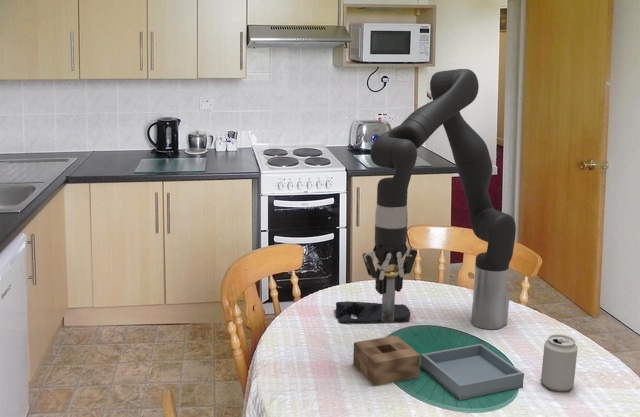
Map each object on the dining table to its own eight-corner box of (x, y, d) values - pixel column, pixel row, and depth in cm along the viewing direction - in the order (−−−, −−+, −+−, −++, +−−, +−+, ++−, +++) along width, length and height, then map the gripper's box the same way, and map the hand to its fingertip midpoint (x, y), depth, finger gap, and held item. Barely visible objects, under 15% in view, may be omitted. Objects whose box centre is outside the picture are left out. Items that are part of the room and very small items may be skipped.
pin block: (395, 357, 187) (396, 335, 186) (418, 377, 176) (420, 354, 175) (353, 364, 183) (353, 342, 181) (374, 386, 172) (375, 362, 170)
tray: (480, 356, 188) (481, 343, 187) (522, 386, 173) (524, 373, 172) (420, 367, 182) (421, 354, 181) (459, 400, 166) (460, 386, 165)
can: (535, 378, 177) (540, 332, 174) (565, 377, 178) (570, 331, 175) (547, 393, 170) (552, 346, 167) (578, 392, 170) (584, 345, 167)
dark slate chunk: (412, 327, 207) (412, 312, 205) (334, 325, 208) (335, 309, 206) (408, 307, 221) (408, 292, 220) (335, 305, 222) (336, 290, 221)
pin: (391, 315, 179) (393, 266, 176) (400, 322, 175) (402, 272, 172) (375, 317, 177) (377, 268, 174) (383, 324, 173) (385, 274, 170)
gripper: (410, 216, 176) (407, 283, 180) (356, 221, 171) (355, 290, 175) (425, 224, 169) (422, 293, 174) (370, 229, 164) (368, 301, 168)
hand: (388, 291), depth 174 cm, fingers closed on pin, 4 cm apart
